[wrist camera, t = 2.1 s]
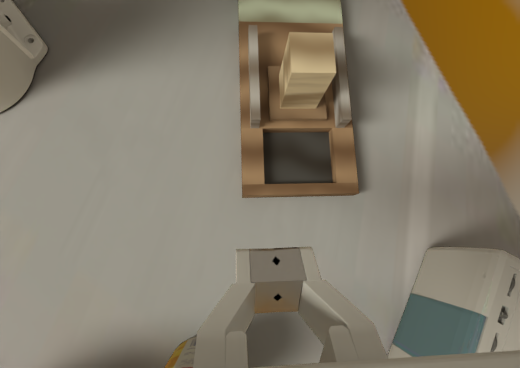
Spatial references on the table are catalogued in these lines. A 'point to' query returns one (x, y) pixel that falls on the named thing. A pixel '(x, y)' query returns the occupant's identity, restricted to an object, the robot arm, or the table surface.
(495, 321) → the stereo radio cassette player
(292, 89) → the wood block
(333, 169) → the track
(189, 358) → the canned food
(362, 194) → the table surface
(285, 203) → the table surface
